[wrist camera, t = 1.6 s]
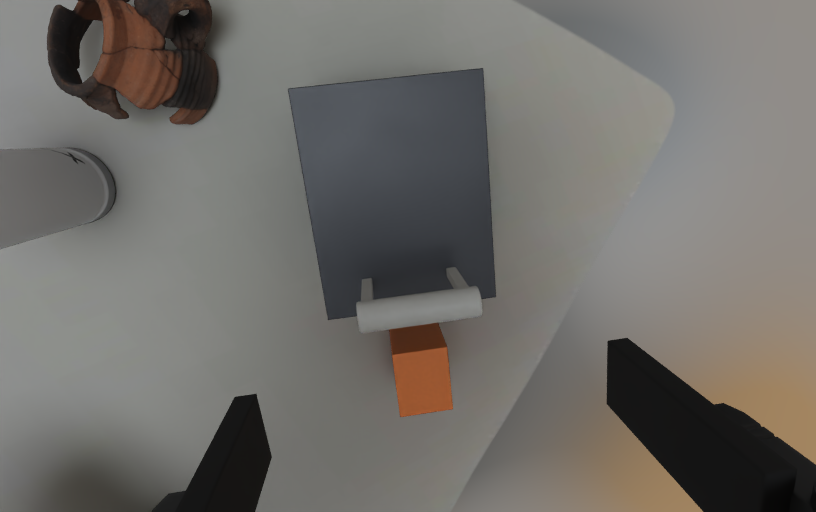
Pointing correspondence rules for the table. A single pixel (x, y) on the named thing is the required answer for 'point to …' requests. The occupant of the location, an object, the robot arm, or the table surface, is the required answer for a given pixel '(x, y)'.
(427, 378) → the orange block
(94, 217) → the travel mug
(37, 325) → the table surface
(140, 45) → the pottery mug
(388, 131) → the hinged box lid
